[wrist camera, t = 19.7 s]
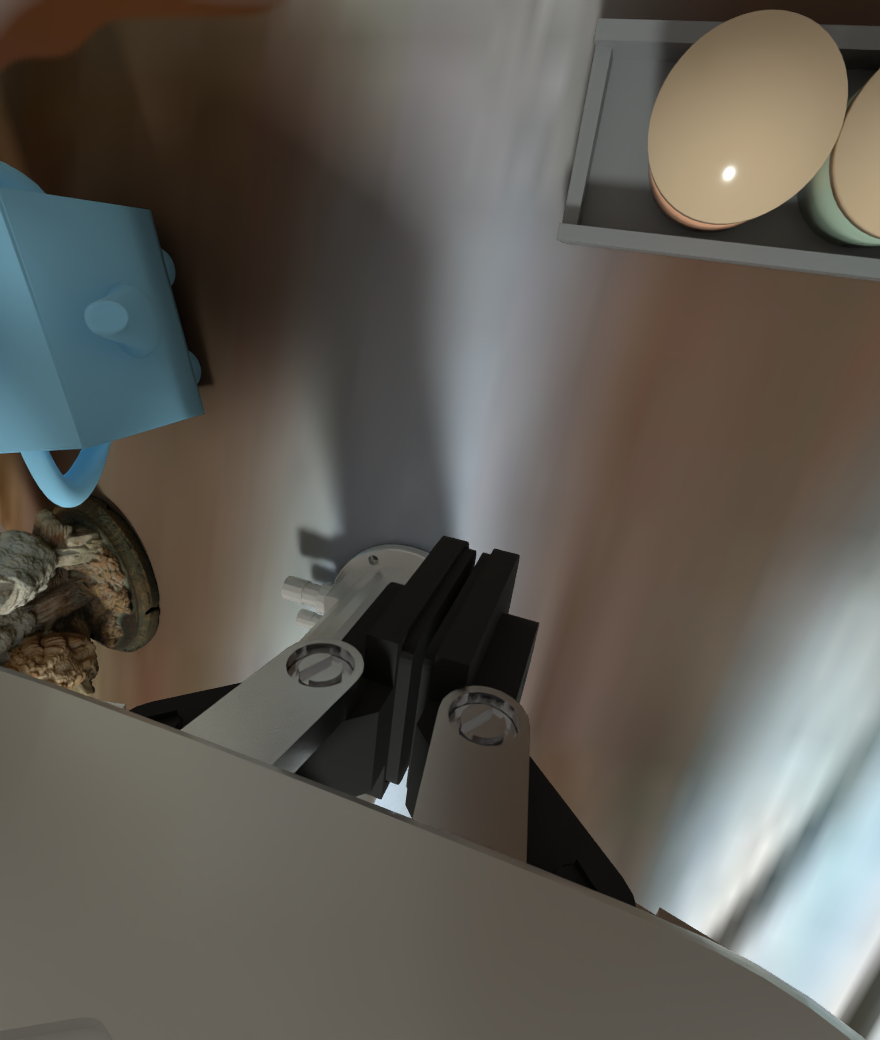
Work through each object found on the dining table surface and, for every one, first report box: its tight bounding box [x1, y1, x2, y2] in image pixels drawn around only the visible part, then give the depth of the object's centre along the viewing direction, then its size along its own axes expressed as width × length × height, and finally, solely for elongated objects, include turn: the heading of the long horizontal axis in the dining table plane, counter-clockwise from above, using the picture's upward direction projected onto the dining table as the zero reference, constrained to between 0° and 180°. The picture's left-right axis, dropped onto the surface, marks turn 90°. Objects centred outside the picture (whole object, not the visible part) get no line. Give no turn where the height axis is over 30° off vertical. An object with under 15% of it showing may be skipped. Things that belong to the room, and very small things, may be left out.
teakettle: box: [0, 161, 204, 508], centre depth 38 cm, size 19×19×15 cm
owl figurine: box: [0, 496, 160, 696], centre depth 49 cm, size 18×12×17 cm, turn 8°
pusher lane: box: [557, 18, 880, 282], centre depth 27 cm, size 22×9×4 cm, turn 83°
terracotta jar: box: [648, 10, 848, 233], centre depth 26 cm, size 7×7×7 cm
